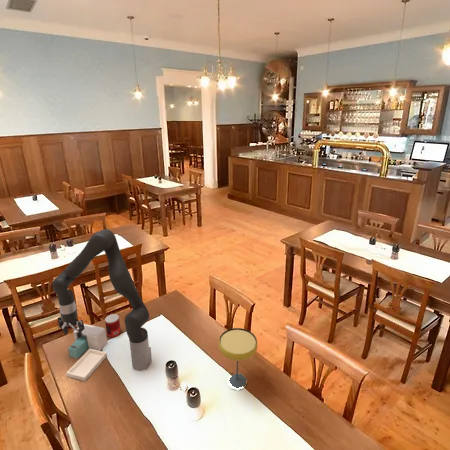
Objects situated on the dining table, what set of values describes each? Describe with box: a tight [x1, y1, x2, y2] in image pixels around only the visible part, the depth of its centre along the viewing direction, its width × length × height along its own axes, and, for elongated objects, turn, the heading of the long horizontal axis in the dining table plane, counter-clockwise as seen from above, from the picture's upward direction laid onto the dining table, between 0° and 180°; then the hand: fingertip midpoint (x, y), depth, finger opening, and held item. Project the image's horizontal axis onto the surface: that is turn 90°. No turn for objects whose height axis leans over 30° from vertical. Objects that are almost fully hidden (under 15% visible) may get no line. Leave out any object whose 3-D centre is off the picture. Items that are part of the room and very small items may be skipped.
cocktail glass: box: [218, 327, 258, 388], centre depth 150 cm, size 18×18×25 cm
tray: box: [66, 348, 108, 382], centre depth 162 cm, size 11×18×3 cm, turn 165°
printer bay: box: [72, 323, 108, 351], centre depth 176 cm, size 15×8×10 cm, turn 75°
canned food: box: [104, 313, 122, 338], centre depth 185 cm, size 8×8×11 cm
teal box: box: [67, 335, 89, 360], centre depth 173 cm, size 5×13×7 cm, turn 161°
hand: (72, 335), depth 165 cm, fingers open, 8 cm apart
